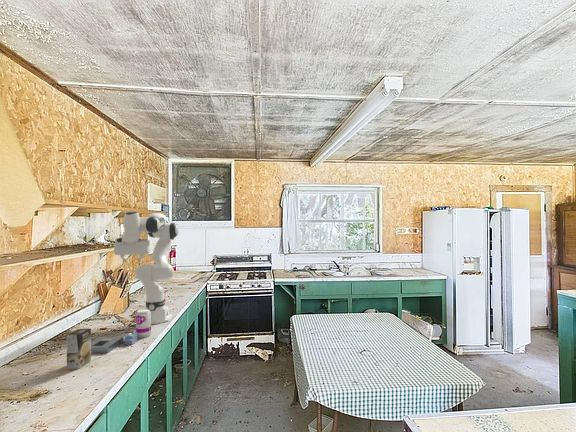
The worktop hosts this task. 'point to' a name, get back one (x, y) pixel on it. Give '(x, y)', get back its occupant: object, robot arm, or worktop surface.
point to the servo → (130, 338)
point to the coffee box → (78, 348)
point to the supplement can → (143, 323)
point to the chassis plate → (105, 344)
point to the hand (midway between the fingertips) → (132, 262)
